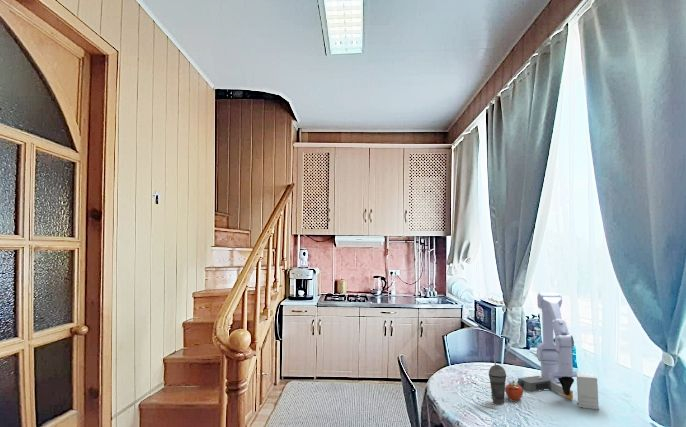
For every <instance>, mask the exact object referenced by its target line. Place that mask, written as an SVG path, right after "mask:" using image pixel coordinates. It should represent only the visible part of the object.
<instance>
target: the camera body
mask: <svg viewBox="0 0 686 427" xmlns="http://www.w3.org/2000/svg"><path fill="white" fill-rule="evenodd" d="M550 381H551V380H549V379H546V378H544V377H541V375H533V376H525V377H519V378H517V381H516V383H518V384H519V385H520V386H521V387H522V389H523V391H524V390H525V391H527V392H530V393H534V392H533V391H536V392H540V391H539V390H543V391H545V390H544V389H550V390H552V389H551V384H550Z"/></svg>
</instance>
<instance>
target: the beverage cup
mask: <svg viewBox="0 0 686 427" xmlns="http://www.w3.org/2000/svg"><path fill="white" fill-rule="evenodd" d="M492 357H493V362H494V363H493V364H494V365H492V366H490V368H489V370H488V378H489V382H490V390H491V391H490V392H491V399H492V403H493V404H496V405H504V404H505V396H506V395H505V394H506V392H505V387H506V380H507V371H506V370H505V368H504V367H503V366H501V364H500V365H499V364H497V362H496V354H493V356H492Z"/></svg>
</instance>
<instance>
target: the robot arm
mask: <svg viewBox="0 0 686 427" xmlns="http://www.w3.org/2000/svg"><path fill="white" fill-rule="evenodd" d="M562 304H563V298H562V295H561V293H560V292H539V293H538V294H537V308H538V309H540V310H541V314H542V315H541V316H542V318H541V319H542V320H541V321H542V323H541V324H542V342H540V343H539V344H538V345H537V346H536V358H537V361H538V362H540V373H541V374H540V376H541V377H544V378H546V379H549V380H551V381H553V382H554V383H556V382H560V383H559V384H560V386H562V388H563V391H564V394H565V395H569V392H570V390H571V388H572V386H573V384H574V382H575V379H574V378H577V374H576V372H581V371H577V370H576V371H575V370H573V369H574V368H573V366H574V365H573V349H574V347H575V346H574V345H575V342H574V337H573V335H572V334H571V332H570V331H569V328H568V326H567V323H566V321H565V320H563V319H562V313H561V309H560V308H561V307H562ZM556 384H557V383H556Z"/></svg>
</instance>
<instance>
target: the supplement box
mask: <svg viewBox="0 0 686 427" xmlns="http://www.w3.org/2000/svg"><path fill="white" fill-rule="evenodd" d="M576 374H577V377H576V387H577V388H576V389H577V403H578V407H579V408H581V407H583V408H584V409H590V410H591V409H592V410H599V409H600V408H599V407H600V404H599V403H600V402H599V392H598V391H599V389H598V376H597V375H596V373H593V372H582V371H580V372H576ZM583 408H582V409H583Z"/></svg>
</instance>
